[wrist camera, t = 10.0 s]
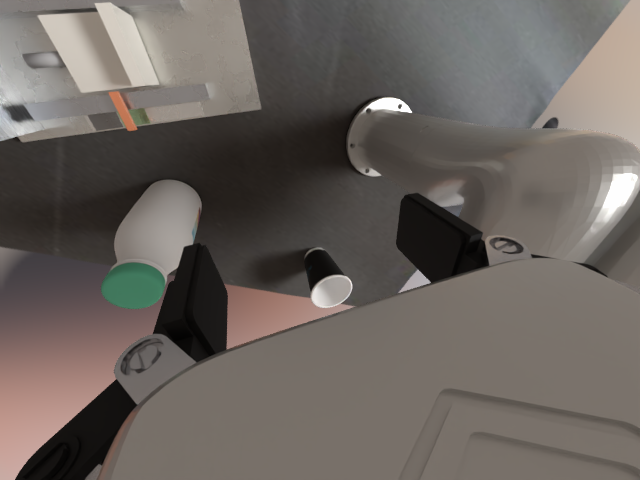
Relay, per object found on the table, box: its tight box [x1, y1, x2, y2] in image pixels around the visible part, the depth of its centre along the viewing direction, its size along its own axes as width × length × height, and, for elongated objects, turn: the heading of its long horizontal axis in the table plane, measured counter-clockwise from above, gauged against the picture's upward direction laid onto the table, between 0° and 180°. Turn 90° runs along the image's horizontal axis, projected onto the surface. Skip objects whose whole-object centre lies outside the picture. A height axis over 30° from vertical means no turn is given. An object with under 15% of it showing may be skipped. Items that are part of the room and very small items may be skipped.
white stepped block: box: [22, 2, 160, 131], centre depth 25 cm, size 10×10×6 cm
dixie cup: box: [304, 248, 352, 308], centre depth 47 cm, size 8×8×11 cm
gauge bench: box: [0, 0, 261, 142], centre depth 23 cm, size 28×14×10 cm, turn 95°
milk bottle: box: [101, 179, 202, 309], centre depth 29 cm, size 8×8×20 cm
